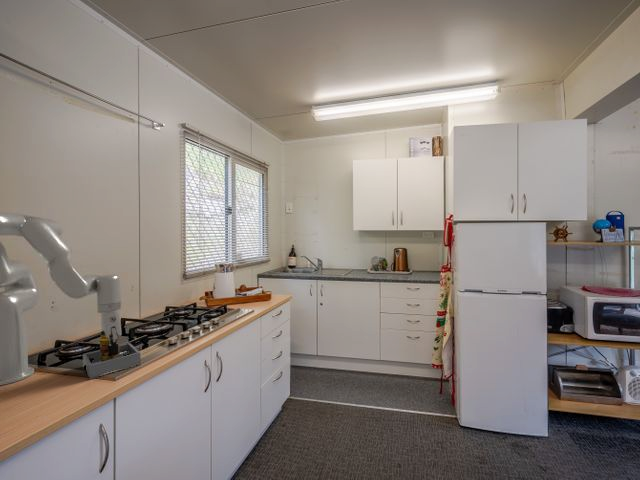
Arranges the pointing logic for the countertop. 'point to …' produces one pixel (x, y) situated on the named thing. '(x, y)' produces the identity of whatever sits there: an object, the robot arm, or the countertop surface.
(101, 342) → the condiment
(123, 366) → the bin
